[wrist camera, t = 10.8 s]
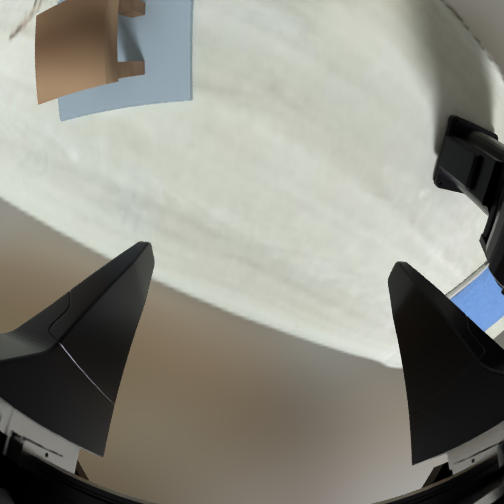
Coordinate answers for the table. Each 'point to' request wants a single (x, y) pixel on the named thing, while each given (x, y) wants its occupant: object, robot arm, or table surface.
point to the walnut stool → (81, 46)
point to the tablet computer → (480, 298)
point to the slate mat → (156, 62)
